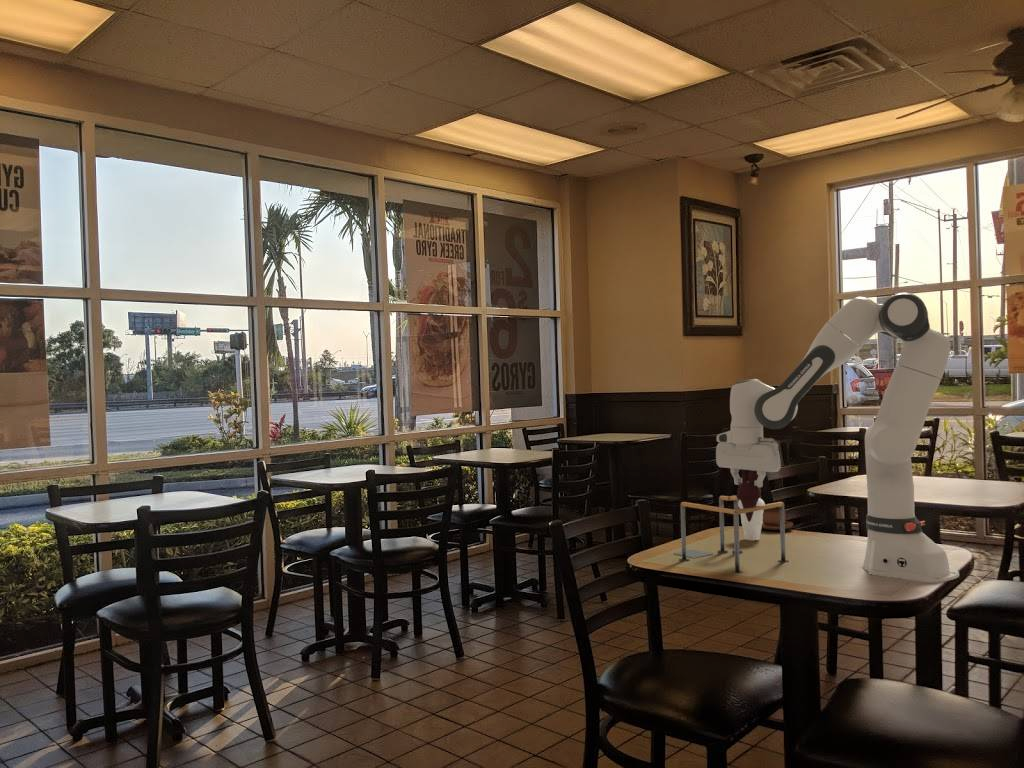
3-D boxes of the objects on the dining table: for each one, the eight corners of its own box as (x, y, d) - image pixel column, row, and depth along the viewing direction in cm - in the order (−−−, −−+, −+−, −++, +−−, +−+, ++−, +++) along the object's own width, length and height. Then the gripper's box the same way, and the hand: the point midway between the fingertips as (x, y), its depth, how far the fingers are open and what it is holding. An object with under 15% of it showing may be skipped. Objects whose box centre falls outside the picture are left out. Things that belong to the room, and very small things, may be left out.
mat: (713, 555, 233) (713, 553, 233) (694, 559, 228) (694, 557, 228) (692, 550, 239) (692, 549, 239) (673, 554, 235) (673, 553, 235)
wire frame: (788, 563, 221) (787, 502, 220) (737, 575, 209) (736, 511, 209) (729, 550, 238) (727, 494, 238) (679, 561, 226) (677, 502, 226)
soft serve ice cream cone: (733, 538, 256) (732, 488, 256) (756, 535, 258) (754, 486, 258) (748, 543, 248) (747, 491, 248) (771, 540, 250) (770, 489, 250)
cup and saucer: (753, 525, 276) (753, 507, 276) (790, 525, 274) (789, 507, 274) (758, 532, 264) (758, 513, 264) (796, 532, 262) (795, 513, 262)
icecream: (768, 523, 223) (767, 469, 223) (745, 524, 221) (744, 470, 220) (753, 518, 229) (752, 466, 229) (730, 520, 227) (730, 468, 227)
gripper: (785, 437, 218) (786, 488, 218) (726, 434, 235) (728, 481, 235) (770, 439, 214) (771, 490, 215) (711, 435, 231) (713, 483, 232)
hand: (748, 485), depth 225 cm, fingers open, 6 cm apart
